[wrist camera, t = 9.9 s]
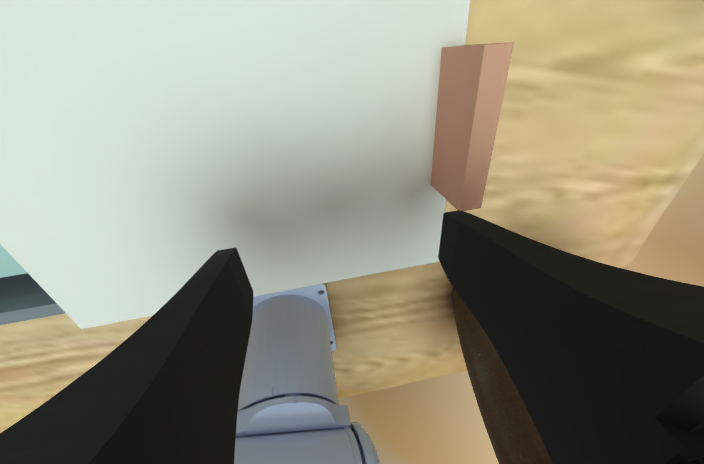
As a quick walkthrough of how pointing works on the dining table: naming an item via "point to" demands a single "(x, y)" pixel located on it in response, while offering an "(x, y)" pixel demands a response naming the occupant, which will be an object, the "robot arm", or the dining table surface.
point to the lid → (235, 141)
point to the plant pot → (497, 395)
